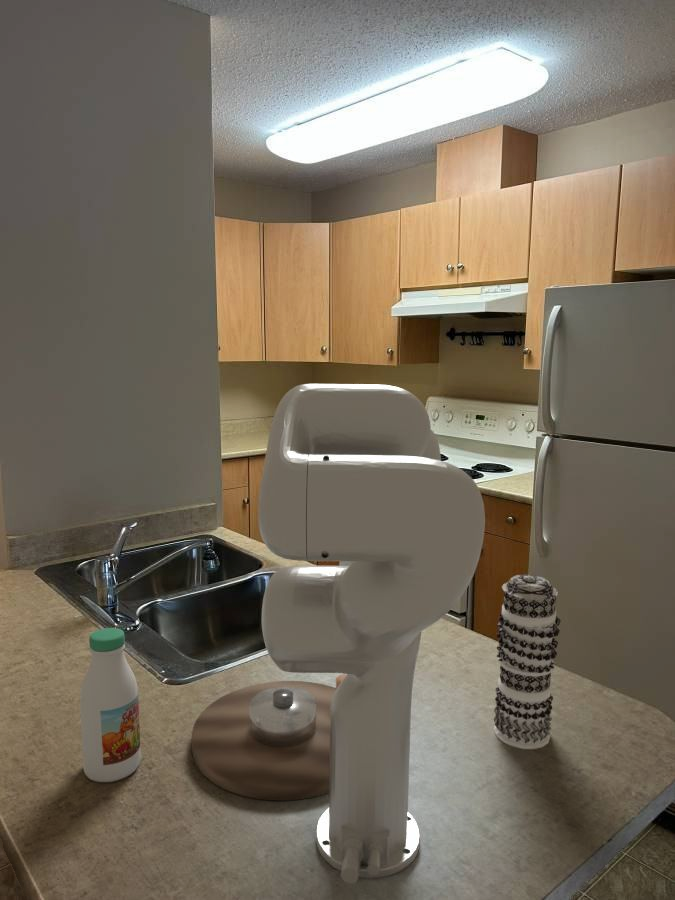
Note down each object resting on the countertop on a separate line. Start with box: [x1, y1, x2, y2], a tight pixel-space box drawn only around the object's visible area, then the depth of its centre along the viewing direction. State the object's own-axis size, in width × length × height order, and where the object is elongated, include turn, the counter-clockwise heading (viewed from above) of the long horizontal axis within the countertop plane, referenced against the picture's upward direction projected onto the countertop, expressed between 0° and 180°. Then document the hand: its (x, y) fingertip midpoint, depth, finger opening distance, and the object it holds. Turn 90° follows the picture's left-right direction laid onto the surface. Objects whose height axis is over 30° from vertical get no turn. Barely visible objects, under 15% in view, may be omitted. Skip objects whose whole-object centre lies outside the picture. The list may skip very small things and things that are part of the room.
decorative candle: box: [493, 574, 562, 750], centre depth 102 cm, size 9×9×25 cm
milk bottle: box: [80, 627, 142, 783], centre depth 93 cm, size 8×8×20 cm
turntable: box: [191, 674, 347, 801], centre depth 101 cm, size 28×28×6 cm
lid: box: [250, 687, 316, 748], centre depth 100 cm, size 10×10×6 cm
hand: (362, 634), depth 99 cm, fingers closed
